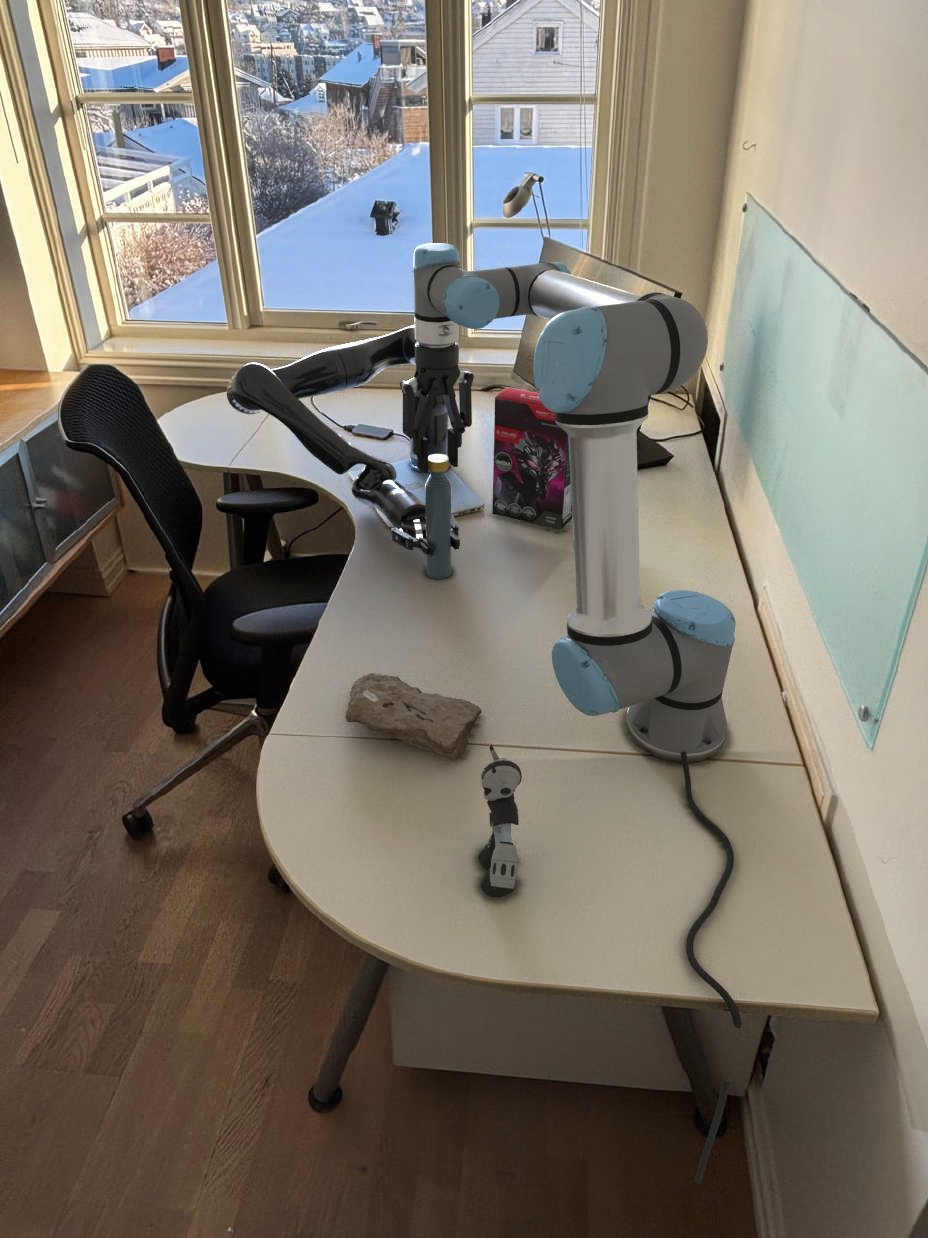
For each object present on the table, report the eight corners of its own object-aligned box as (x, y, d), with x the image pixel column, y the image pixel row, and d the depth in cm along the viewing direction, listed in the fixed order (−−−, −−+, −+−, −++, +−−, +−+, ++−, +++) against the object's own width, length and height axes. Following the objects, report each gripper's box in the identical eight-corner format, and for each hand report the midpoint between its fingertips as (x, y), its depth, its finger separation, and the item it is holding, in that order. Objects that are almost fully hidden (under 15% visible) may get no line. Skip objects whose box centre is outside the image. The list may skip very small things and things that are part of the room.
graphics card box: (489, 515, 202) (492, 395, 187) (503, 502, 207) (507, 384, 192) (561, 533, 196) (570, 410, 180) (573, 519, 201) (583, 399, 186)
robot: (523, 934, 111) (531, 817, 100) (483, 936, 111) (487, 818, 100) (509, 815, 128) (514, 703, 117) (474, 816, 127) (476, 704, 116)
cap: (453, 468, 169) (453, 459, 168) (435, 474, 167) (435, 464, 166) (440, 461, 172) (440, 451, 171) (422, 466, 170) (422, 456, 169)
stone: (319, 730, 137) (326, 695, 135) (356, 690, 151) (363, 658, 148) (450, 779, 134) (460, 744, 131) (477, 733, 147) (486, 701, 145)
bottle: (434, 563, 185) (432, 454, 172) (455, 569, 183) (455, 459, 170) (422, 574, 181) (419, 463, 168) (443, 581, 180) (443, 469, 166)
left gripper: (373, 503, 184) (411, 540, 172) (437, 488, 190) (478, 523, 177) (375, 536, 188) (412, 574, 176) (437, 521, 194) (477, 556, 182)
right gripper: (397, 355, 150) (401, 485, 163) (494, 339, 158) (491, 465, 171) (378, 343, 156) (383, 469, 169) (473, 328, 163) (471, 450, 176)
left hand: (445, 548), depth 177 cm, fingers closed on bottle, 5 cm apart
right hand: (438, 467), depth 170 cm, fingers open, 5 cm apart
